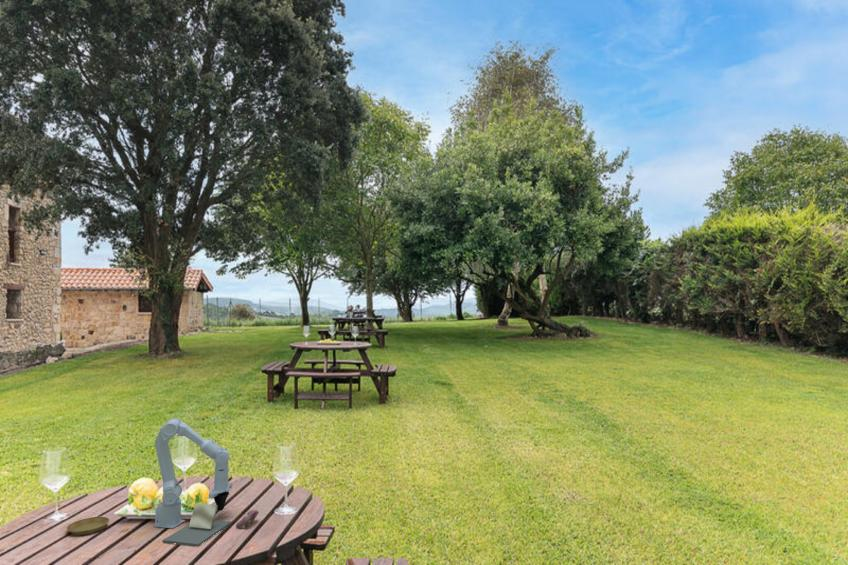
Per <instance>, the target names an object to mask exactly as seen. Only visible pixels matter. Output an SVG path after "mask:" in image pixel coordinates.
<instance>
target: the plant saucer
mask: <svg viewBox="0 0 848 565" xmlns="http://www.w3.org/2000/svg"><path fill="white" fill-rule="evenodd" d="M109 522H110V518H109V517H105V516H94V517H93V516H92V517H87V518H83V519H79V520H75V521H74V522H72V523H69V524H68V525H67V527H66V530H67V531H68V532H69V533H71V535H74V536H86V535H91V534H94V533H97V532H99V531H101V530H103V529H104V528H105V527H106V526H107V525H108V524H109Z"/></svg>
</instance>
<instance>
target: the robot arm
mask: <svg viewBox="0 0 848 565" xmlns="http://www.w3.org/2000/svg"><path fill="white" fill-rule="evenodd" d="M175 436H176V437H185V438H187V440H189V441H191V442H193V443H194V444H196V445H197V446H199V448H200V449H199V450H200V451H201V453H203V454H205V455H206V456H207V457H208V458H210V459H211V460H213V461H214V462H213V463H214V464H215V468H214V482H213V489H212V491H211V492H210V493H208V499H211V500H214V502H215V505H218V507H217V511H220V512H221V511H223V510H224V508H225V505H226V501H227V499H228V497H229V495H230V490H231V489H232V488H233V483H231V482H229V467H230V466H229V459H230V452H229V450H227V448H224V447H223V446H220V445H218V444H217V443H215V442H216V441H215V440H214V439H205V438H203V437H202V436H201V435H200V434H199V433H197V431H195V430H194V429H193V428H192V427H191V426H189V425H188V424H187V423H185V422H184V421H181V419H179V418H176V417H172V418H170V419H169V420H168V421H167V422H166V423H164V425H163V426H162V427H161V428H160V429H159V431H158V434H157V436H156V439H155V441H154V446H155V451H156V455H157V461H158V465H159V470H160V475H161V480H162V497H161V500H162V501H161V502H159V503H158V504H157V506H156V508H155V517H154V518H155V519H154V521H155V522H154V524H153V527H154V528H162V529H163V528H164V529H165V528H166V529H174V528H176V527H177V526H180V525H182V524H183V523H184V522H186V520H185V519H182V518H181V514H182V513H181V512H182V499H181V498H180V496H181V495H182V492H183V488H182V486H181V485H180V484H179V482H178V479H177V477H176V474H175V469H174V465H173V459H172V454H171V450H170V446H169V442H170V440H171V439H172V438H174V437H175Z"/></svg>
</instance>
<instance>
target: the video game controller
mask: <svg viewBox="0 0 848 565" xmlns="http://www.w3.org/2000/svg"><path fill="white" fill-rule="evenodd" d="M257 516H259V511H258V510H256V509H252V510H248V511H247V513H246V514H245V515H244V516H243V517H242V518H241V520H239V521H238V522H237V523H236V525H235V527H236V529H242V528H244V527H246V526H247V525H248V526H249V525H250V523H251V524H252V523H253V522H254V520H255V519H256V518H257ZM248 526H247V527H248Z"/></svg>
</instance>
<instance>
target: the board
mask: <svg viewBox="0 0 848 565" xmlns="http://www.w3.org/2000/svg"><path fill="white" fill-rule="evenodd" d="M189 524H190V523H189ZM189 524H187V525H185V526H183V527H182V528H181V529H179V530H177V531H175V532H173V533H172V534H170V535H168V536H167V537H165V538H164V539H162V542H164V543H163V544H169V543H176V544H175V545H177V546H178V545H180V546H186V545H188V546H189V547H195V546H199V545H200V546H202V545H203V544H204V543H203V542H205V541H206V540H207V541H209V540H210V539H212V538H213V537H214V536H213V535H215V534H216V533H218V532H219V531H221V530H222V531H224V530H225V529H226V528H228V527H229V526H231V525H232V520H231V521H230V520H221V519H220V520H219V519H218V520H217V519H214V522H213V526H212V529H206V528H197V527H189ZM224 528H225V529H224ZM222 531H221V532H222ZM219 533H220V532H219ZM219 533H218V534H219ZM216 535H217V534H216ZM216 535H215V536H216ZM212 536H213V537H212ZM211 537H212V538H211ZM209 538H210V539H209ZM208 539H209V540H208ZM207 541H206V542H207ZM162 542H161V543H162ZM206 542H205V543H206ZM202 543H203V544H202ZM201 544H202V545H201ZM188 546H187V547H188ZM200 546H199V547H200Z"/></svg>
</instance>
